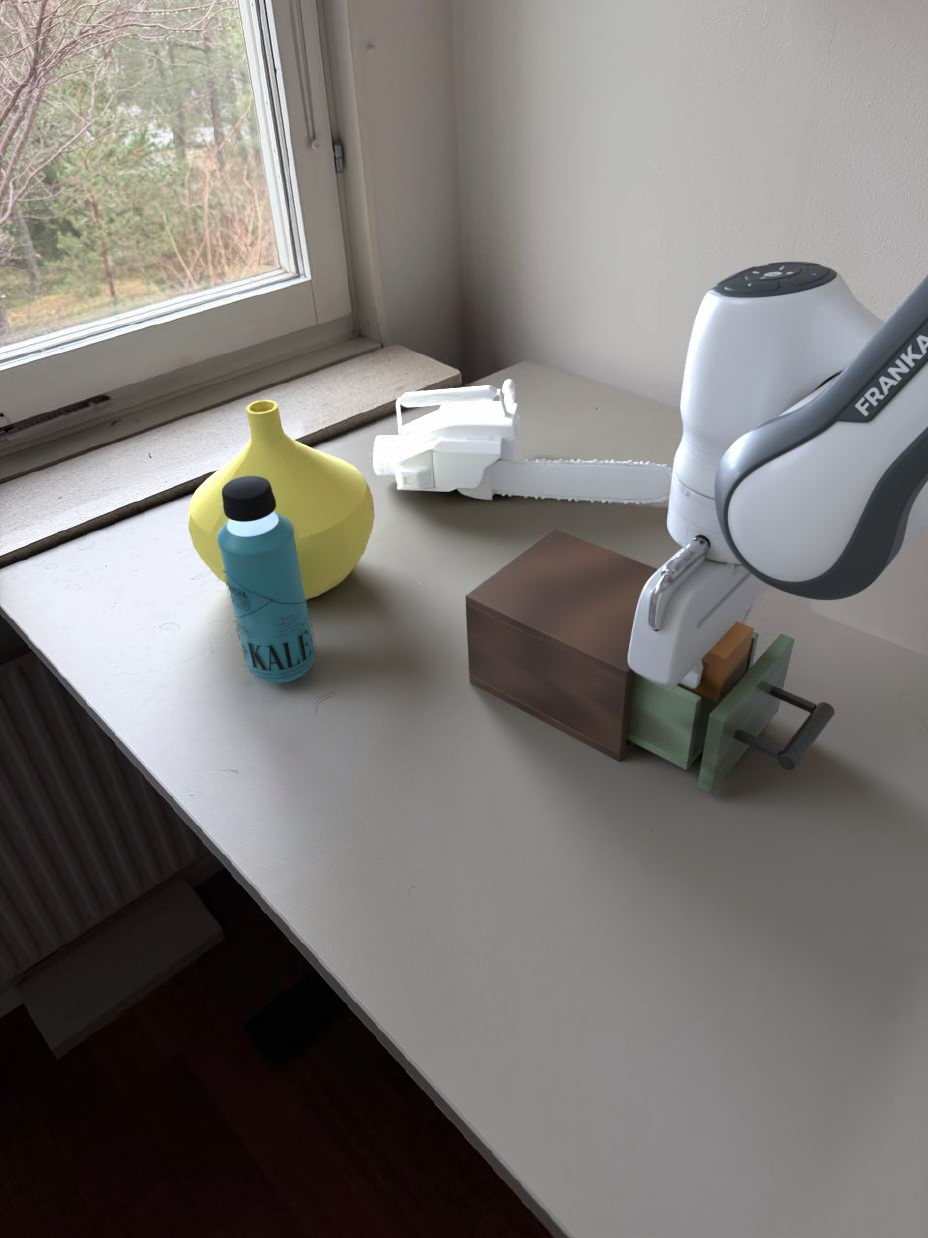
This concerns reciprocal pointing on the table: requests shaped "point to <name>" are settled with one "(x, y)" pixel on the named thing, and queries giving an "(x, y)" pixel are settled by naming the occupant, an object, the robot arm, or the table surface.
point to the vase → (292, 502)
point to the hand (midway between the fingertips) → (709, 660)
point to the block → (725, 662)
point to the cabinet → (560, 637)
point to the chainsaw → (499, 455)
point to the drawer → (723, 718)
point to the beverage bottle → (265, 582)
